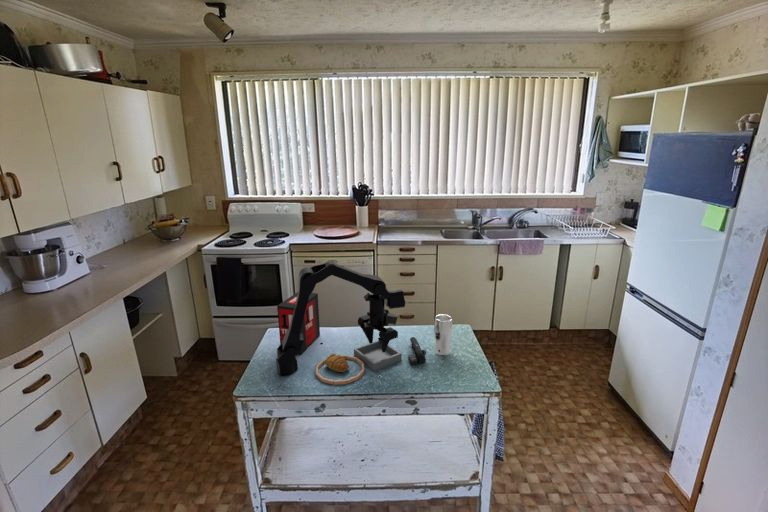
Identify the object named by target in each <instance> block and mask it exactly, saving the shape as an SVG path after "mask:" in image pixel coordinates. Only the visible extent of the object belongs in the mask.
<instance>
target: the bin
mask: <svg viewBox="0 0 768 512" xmlns="http://www.w3.org/2000/svg"><path fill="white" fill-rule="evenodd" d="M402 355H403V354H402V352H400V351H399V350H397V349H396V348H394V347H393V346H391V345H390V344H388V346H387V348H386V351H385V352H382V350H381V346H380V343H379V340H376V341H375V340H374V341H373V343H371V344H370V343H369V342H368V343H367V344H364V345H361V346H358V347H356V348H355V347H354V348H353V357H357V358H358V359H359V360H361V361H362V362H363V363H364V366H367V367H368V368H369V369H370V370H372V371H373V372H376V371H378V370H380V369H383V368H387V367H388V366H390V365H393V364H395V363H398V362H400V361H401V360H402V359H403V358H402V357H403V356H402Z"/></svg>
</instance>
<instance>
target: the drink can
mask: <svg viewBox="0 0 768 512" xmlns="http://www.w3.org/2000/svg"><path fill="white" fill-rule="evenodd" d="M433 331H434V333H433V334H434V340H435V348H434V354H436V355H437V354H438V355H437V356H440V355H446V356H448V354H449V353H451V350H450V344H451V339H452V333H453V317H452V316H450V315H449V314H443V313H442V314H437V315H436V316H435V318H434V328H433ZM449 355H450V354H449Z"/></svg>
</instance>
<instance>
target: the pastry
mask: <svg viewBox="0 0 768 512" xmlns="http://www.w3.org/2000/svg"><path fill="white" fill-rule="evenodd" d="M326 358H327V359H326ZM326 358H325V359H326V361H325V363H324V364H325V365H326V366H327V368H328V369H330V370H332V371H334V372H339V373H344V372H346V371H347V370H349V368H350V365H349V363H348V361H347V359H344V358H343V357H341V356H340V354H337V353H331V354H330V355H328V356H327V357H326Z"/></svg>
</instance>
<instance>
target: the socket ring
mask: <svg viewBox="0 0 768 512" xmlns="http://www.w3.org/2000/svg"><path fill="white" fill-rule="evenodd" d="M339 355H340V354H339ZM340 356H341V357H343V358H344V359H345V360H351V361H355V362H356V363H357V364H359V365H360V366H361V370H360V371H359V372H358V374H357V375H355V376H352V377H350V378H347V379H337V380H333V379H331V378H330V379H329V378H326V377H323V376H322V375H321V374H320V373H319V369H320V368H321V367H322V366H323V365H324V364H326V363H325V361H326V359H327V357H326V358H323V359H322V360H321V361H319V363H317V365H316V366H315V377H317V378H318V380H320V381H321V382H322V383H325V384H330V385H335V386H337V385H347V384H350V383H352V382H355V381H358V380H359V379H361V378H362V376H363V375H364V373H365V364H364V363H363V362H362V361H361V360H359V359H358V358H357V357H355V356H352V355H348V354H347V355H346V354H343V355H340Z"/></svg>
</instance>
